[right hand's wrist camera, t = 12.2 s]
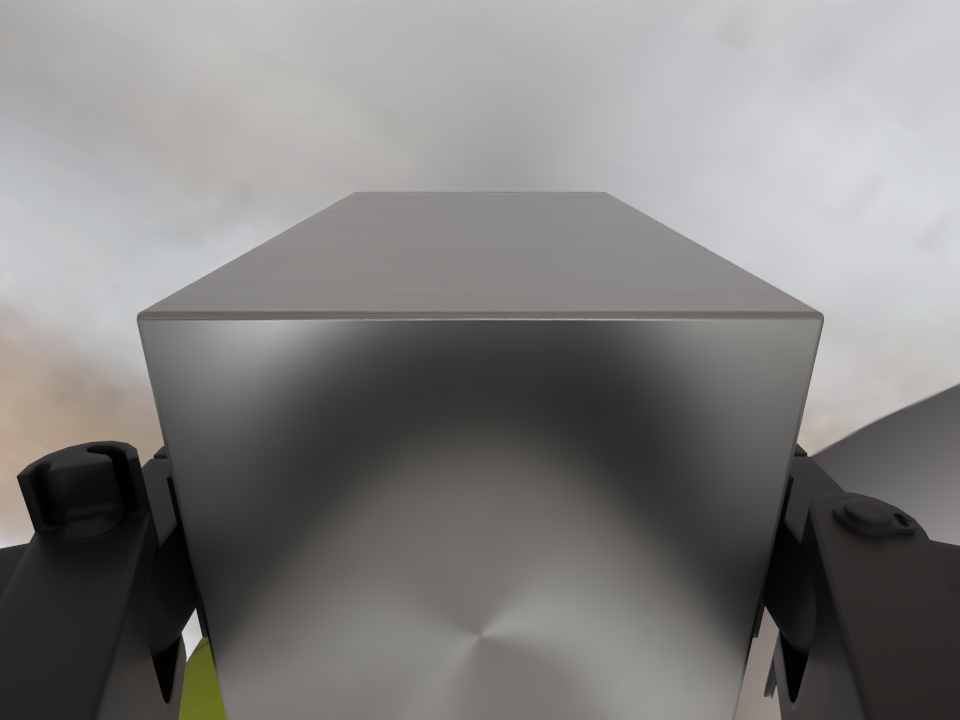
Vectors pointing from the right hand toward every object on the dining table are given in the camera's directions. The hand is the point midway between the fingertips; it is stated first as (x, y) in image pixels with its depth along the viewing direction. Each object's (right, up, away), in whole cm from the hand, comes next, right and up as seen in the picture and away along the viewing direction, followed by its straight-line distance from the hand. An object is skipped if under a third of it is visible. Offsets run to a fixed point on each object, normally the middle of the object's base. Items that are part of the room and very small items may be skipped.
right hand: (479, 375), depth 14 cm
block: (0, +1, +3) cm, 3 cm away
